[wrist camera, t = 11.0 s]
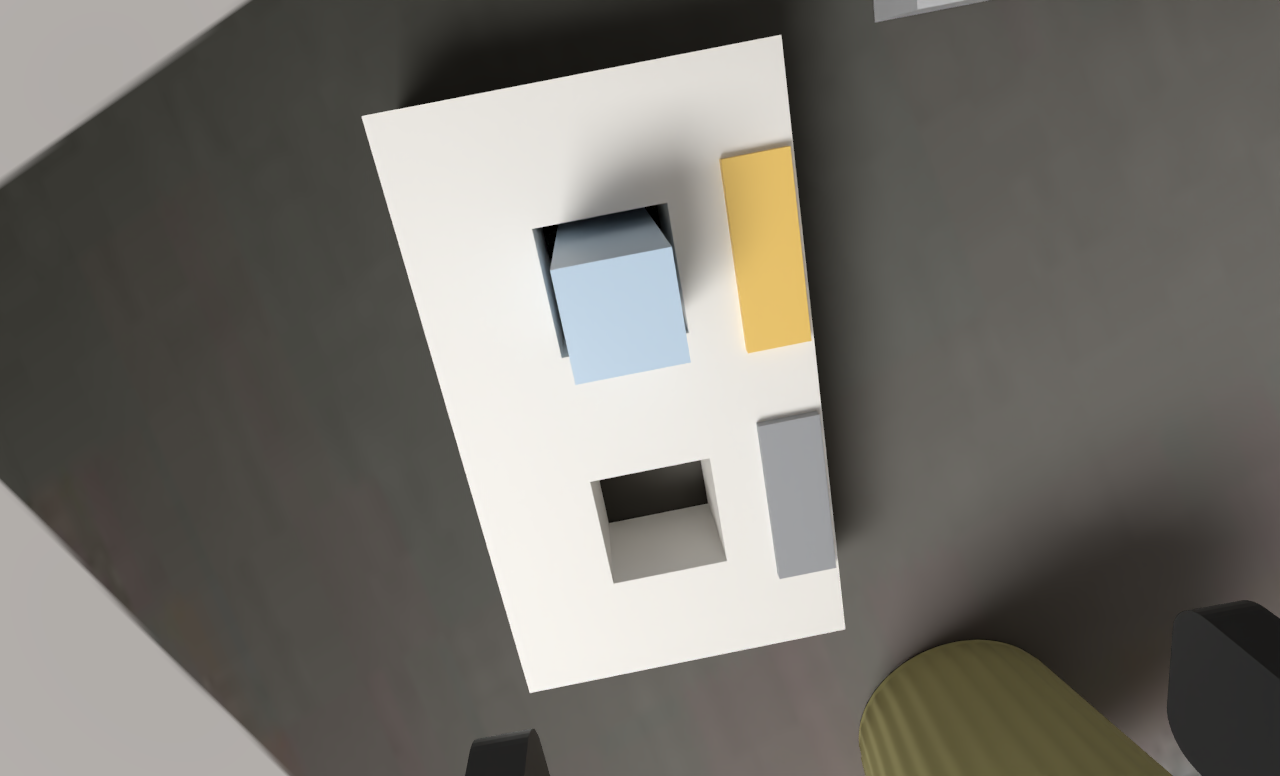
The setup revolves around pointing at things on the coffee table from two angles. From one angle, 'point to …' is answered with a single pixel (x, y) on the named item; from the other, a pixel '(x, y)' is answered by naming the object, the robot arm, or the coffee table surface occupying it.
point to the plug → (618, 296)
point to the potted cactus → (989, 720)
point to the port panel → (636, 403)
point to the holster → (913, 7)
